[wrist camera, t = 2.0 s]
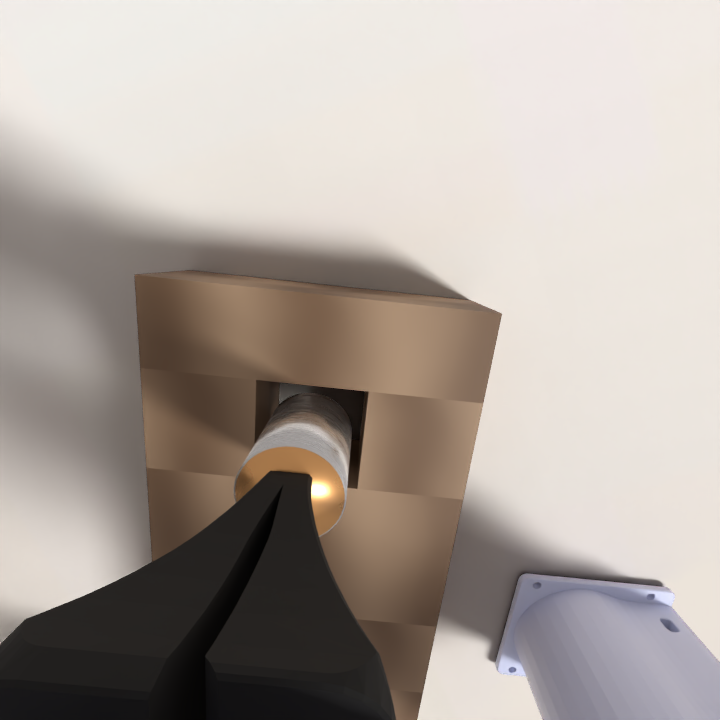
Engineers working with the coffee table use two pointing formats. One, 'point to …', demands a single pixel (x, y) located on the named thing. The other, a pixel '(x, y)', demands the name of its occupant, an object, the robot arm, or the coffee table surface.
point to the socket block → (367, 455)
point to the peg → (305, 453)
